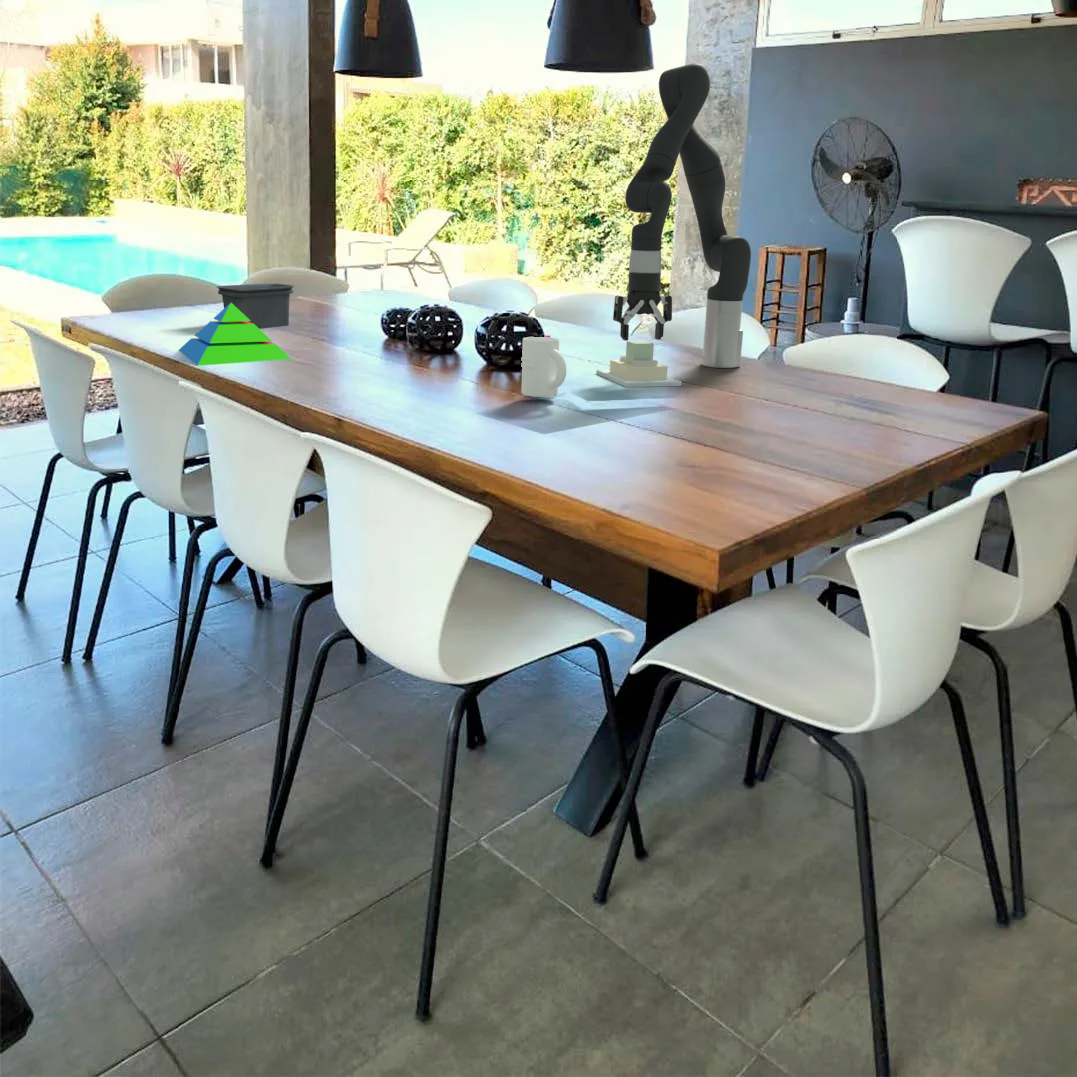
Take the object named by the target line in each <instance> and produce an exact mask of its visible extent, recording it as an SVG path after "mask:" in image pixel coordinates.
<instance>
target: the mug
mask: <svg viewBox="0 0 1077 1077" xmlns="http://www.w3.org/2000/svg"><path fill="white" fill-rule="evenodd" d="M521 348H522V357H521V361H522V363H521V367H522V370H521V394H522V395H523V396H525V397H526V396H527V397H533V398H535V397H536V398H547V397H548V398H549V397H556V396H557V395H558V393H559V392H558V390H559V387H561V386H562V385H563V383H564V381H565V379H566V378H567V377H566V376H567V364H566V360H565V358H564V356H563V355H562V353H561V352H560V339H559V338H557V337H551V336H550V337H534V336H527V337H523V338H522V347H521Z"/></svg>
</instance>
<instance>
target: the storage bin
mask: <svg viewBox="0 0 1077 1077" xmlns="http://www.w3.org/2000/svg"><path fill="white" fill-rule="evenodd" d="M216 288H217V289H218V291H217V294H218V295H221V297H222V302H223V303H222V304H223V309H224V308H225V307H227V306H228V305H229V304H230V303H232V304H233V305H234V306H235V307H236V308H238V309H239V310H240V311H241V312H242V313H243V314H244V315H245V316H246V317H247V318H248V319H249V320H250V321H248V322H250V323H253V324H255V325H256V326H257V327H258V328H259V329H260V330H261V329H268V328H278V327H287V326H288V327H289V326H290V294H294V290H293V288H294V285H293V284H284V283H251V284H248V283H247V284H230V285H229V284H228V285H225V284H224V285H216Z"/></svg>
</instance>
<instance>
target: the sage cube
mask: <svg viewBox="0 0 1077 1077" xmlns="http://www.w3.org/2000/svg"><path fill="white" fill-rule="evenodd" d="M654 347H655V343H653V342H651V341H647V340H628V341H626V349H625V356H626V362H627V363H630V364H632V360H654V351H655V350H654Z"/></svg>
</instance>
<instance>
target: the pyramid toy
mask: <svg viewBox="0 0 1077 1077" xmlns="http://www.w3.org/2000/svg"><path fill="white" fill-rule="evenodd" d="M213 319H214V320H210V321H209V322H208V323H206V324H205V326H203V327H202V328H201V329H200V330H199V331H198V332H196V334H194V337H195V338H194V337H193V338H189V340H188V341H187V342H186V343H185V344H184V345H182V346H180V348H179V349H178V351H179V352H181V353H182V354H183V355H184V356H186V358H187V359H189V360H190V361H191V362H192V363H194V364H195V365H196V366H197V367H200V366H210V365H211V366H213V365H226V364H227V365H228V364H239V363H254V362H255V363H256V362H268V361H282V360H292V358H291V357H290V356H289V355H288V354H287V353H286V352H285V351H284V350H283V349H282V348H281V347H279V345H277V343H275V342H273V340H272V339H271V338H270V337H269V336H268V335H266V334H265V332H263V330H261V329H259V328H258V327H257V326H256V325H255V324H253V323H250V322H248V321H250V320H249V319H248V318H247V317H246V316H245V315H244V314H243V313H242V312H241V311H240V310H239V309H238V308H236V307H235V306H234V305H233V304H232V303H230V304H229V305H228V306H227V307H225V308H224V307H223V309H222V310H221V311H220V312H219V313H218V314H216V315H215V316H214V317H213Z"/></svg>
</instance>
